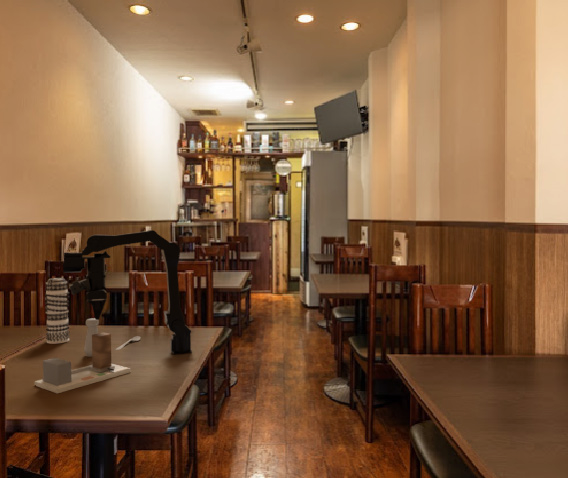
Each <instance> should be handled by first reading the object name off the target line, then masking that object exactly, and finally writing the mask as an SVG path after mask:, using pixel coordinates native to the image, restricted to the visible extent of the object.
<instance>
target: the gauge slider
mask: <svg viewBox="0 0 568 478" xmlns="http://www.w3.org/2000/svg"><path fill="white" fill-rule="evenodd" d="M91 359H92V361H91V362H92V364H91V365H93V366H90V365H89V366H90V367H89V369H90V370H94V371H97V372H104V371H108V370H111V371H114V369H115V366H113V365H112V364H113V363H112V334H111V333H108V332H98V334H93V335H92V357H91Z"/></svg>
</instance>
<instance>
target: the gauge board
mask: <svg viewBox="0 0 568 478" xmlns="http://www.w3.org/2000/svg"><path fill="white" fill-rule="evenodd" d="M112 365H113V366H115V369H114V371H111V370H108V371H104V372H97V371H94V370H90V369H89V367H90V366H93V365H92V364H90V365H87V366H82V367H79V368H74V369H72V361H70V360H66V359H62V358H58V357H54V358H48V359H44V360H42V379H38V380H35V381H34V386H35V385H36V387H38V388H41V389H43V390H46V391H49V392H52V393H55V394H60V393H65V392H67V391H70V390H74V389H78V388H80V387H85V386H88V385H91V384H94V383H95V384H96V383H98V382H102V381H106V380H109V379H112V378H116V377H118V376H123V375H127V374H130V373H131V367H126V366H122V365H118V364H114V363H112Z"/></svg>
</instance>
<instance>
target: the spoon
mask: <svg viewBox="0 0 568 478" xmlns="http://www.w3.org/2000/svg"><path fill="white" fill-rule="evenodd" d="M140 340H141V336H139V335H137V336H133V337H132V338H130V339H129V340H127V341H126V342H124V343H122V344H121V345H119V346H118V347H116V349H115V351H116V350H118V351H119V350H121V349H123V348H124V347H125V346H126V345H127V344H128V343H130V342H134V343H136V342H139V341H140Z"/></svg>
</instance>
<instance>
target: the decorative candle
mask: <svg viewBox="0 0 568 478" xmlns="http://www.w3.org/2000/svg"><path fill="white" fill-rule="evenodd" d="M45 284H46V290H45V291H46V292H45V297H44V304H45V307H44V310H45V314H46V324H45V327H46V329H45V331H46V334H45V336H46V338H45V340H46V344H51V345H52V344H54V345H55V344H63V343H67V342H70V331H69V329H70V326H69V325H70V322H69V317H68V316H69V314H68V313H70V312H69V309H68V307H70V304H69V303H70V301H69V300H68V299H69V298H71V297H70V295H69V294H70V293H71V291H70V292H69V291H68V281H67V280H66V279H65V278H63V277H54V278H49V279H48V280H47V282H45Z"/></svg>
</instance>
